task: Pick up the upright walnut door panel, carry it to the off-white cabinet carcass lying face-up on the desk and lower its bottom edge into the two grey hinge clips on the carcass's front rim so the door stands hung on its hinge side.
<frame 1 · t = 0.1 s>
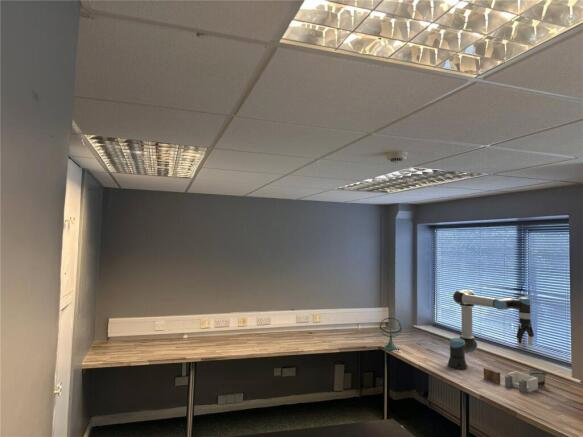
hand: (525, 346, 282), 28 cm above the table, fingers open, 13 cm apart
armillary sphere: (390, 349, 367), on the table
carcass: (522, 386, 274), on the table
door: (491, 380, 285), on the table
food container: (535, 384, 280), on the table
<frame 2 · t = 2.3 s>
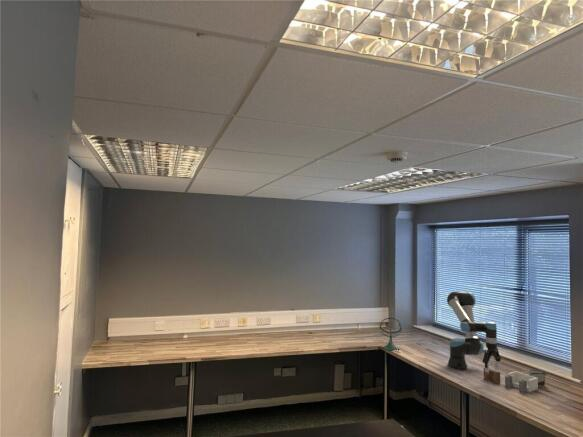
hand: (492, 370, 285), 8 cm above the table, fingers open, 13 cm apart
nothing on the table moved.
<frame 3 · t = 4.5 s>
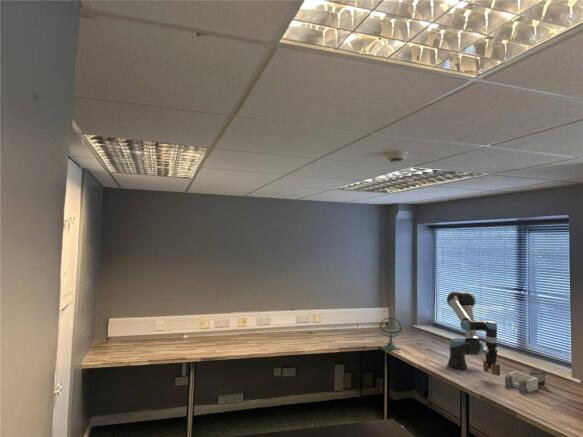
hand: (491, 372, 286), 6 cm above the table, fingers closed on door, 2 cm apart
door: (491, 373, 286), point 6 cm above the table, touching gripper
everything else where it was.
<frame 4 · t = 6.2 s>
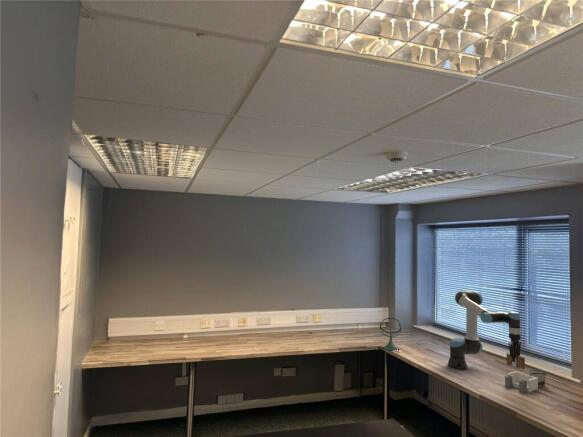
hand: (515, 365, 271), 16 cm above the table, fingers closed on door, 2 cm apart
door: (515, 366, 271), point 16 cm above the table, touching gripper
everything else where it was.
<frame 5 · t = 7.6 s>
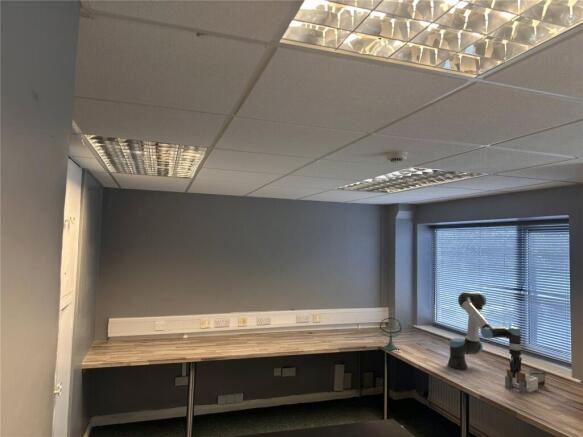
hand: (515, 381, 270), 5 cm above the table, fingers closed on door, 2 cm apart
door: (516, 382, 270), point 5 cm above the table, touching gripper
everything else where it was.
when the fingers open (4 cm above the table, at t = 8.0 s): door stays where it is, resting on carcass.
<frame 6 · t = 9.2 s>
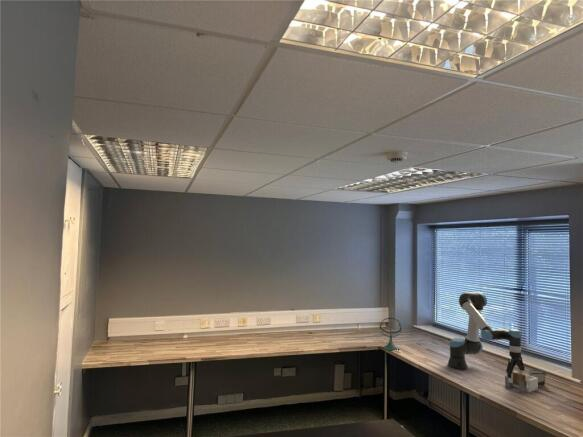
hand: (515, 380, 270), 6 cm above the table, fingers open, 13 cm apart
door: (516, 384, 270), point 3 cm above the table, touching carcass
everything else where it was.
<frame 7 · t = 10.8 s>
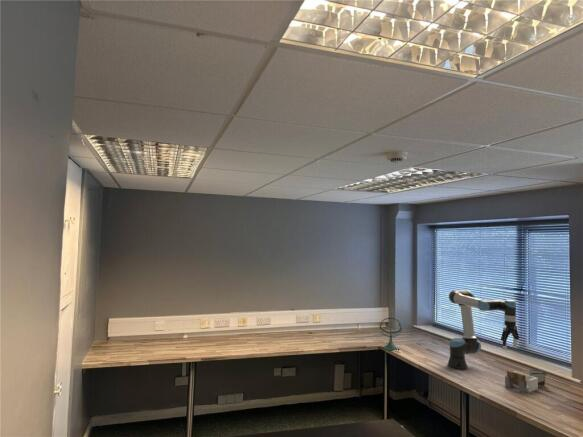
hand: (510, 348, 281), 26 cm above the table, fingers open, 13 cm apart
nothing on the table moved.
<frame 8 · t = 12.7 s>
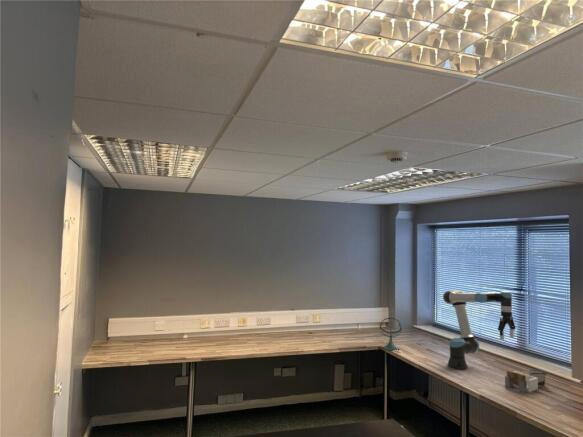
hand: (506, 338, 289), 32 cm above the table, fingers open, 13 cm apart
nothing on the table moved.
at the end: door 0.4 cm from the target spot on the carcass, point 3.5 cm above the carcass's base; door tilted 0°; the gripper is holding nothing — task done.
